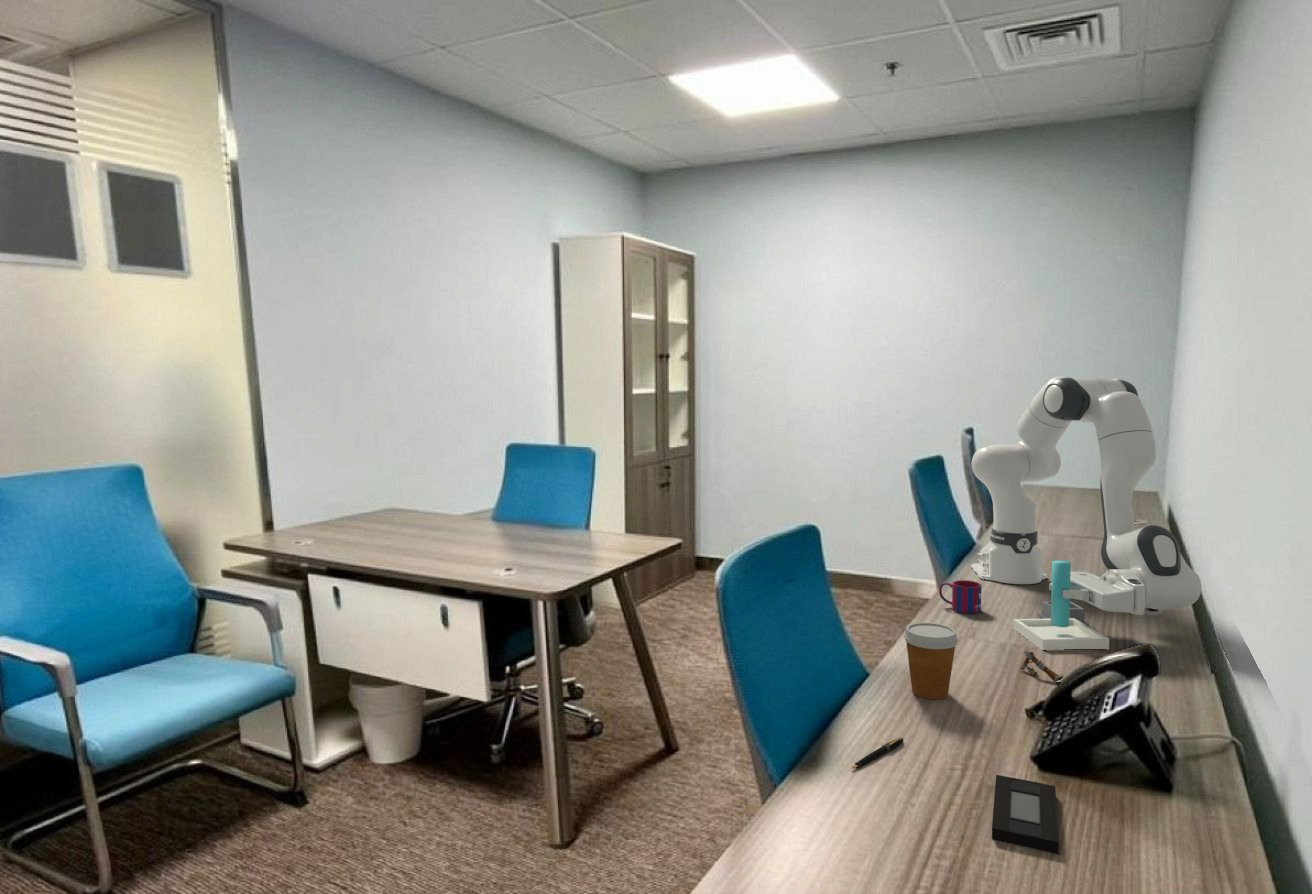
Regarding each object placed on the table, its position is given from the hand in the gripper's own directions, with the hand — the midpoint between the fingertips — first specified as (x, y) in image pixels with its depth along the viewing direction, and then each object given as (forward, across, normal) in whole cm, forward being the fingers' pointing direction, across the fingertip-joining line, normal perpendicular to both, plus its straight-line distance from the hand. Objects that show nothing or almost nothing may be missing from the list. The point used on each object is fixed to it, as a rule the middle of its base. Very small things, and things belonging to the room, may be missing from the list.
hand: (1056, 590), depth 167 cm
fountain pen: (+53, +51, +12) cm, 75 cm away
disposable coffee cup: (+37, +28, +11) cm, 48 cm away
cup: (+12, -23, +11) cm, 28 cm away
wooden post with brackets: (+14, +21, +12) cm, 28 cm away
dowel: (-1, 0, +8) cm, 8 cm away
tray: (-1, 0, +11) cm, 11 cm away
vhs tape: (+38, +68, +12) cm, 79 cm away
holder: (-8, -12, +11) cm, 18 cm away
